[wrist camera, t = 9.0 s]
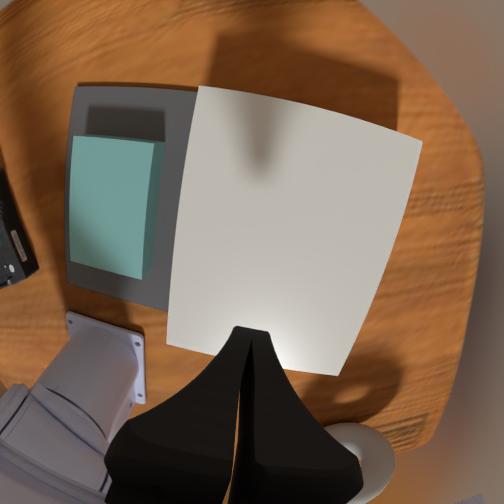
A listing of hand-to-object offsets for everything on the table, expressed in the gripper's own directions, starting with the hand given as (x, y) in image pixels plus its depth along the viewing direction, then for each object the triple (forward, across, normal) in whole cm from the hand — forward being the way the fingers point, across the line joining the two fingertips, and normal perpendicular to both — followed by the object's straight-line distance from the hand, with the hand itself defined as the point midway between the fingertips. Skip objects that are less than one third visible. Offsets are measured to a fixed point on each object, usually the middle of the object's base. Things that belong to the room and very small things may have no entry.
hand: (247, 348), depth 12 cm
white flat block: (+10, -1, -2) cm, 10 cm away
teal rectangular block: (+8, +10, -2) cm, 13 cm away
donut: (+10, -12, +18) cm, 24 cm away
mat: (+10, +10, -2) cm, 15 cm away
